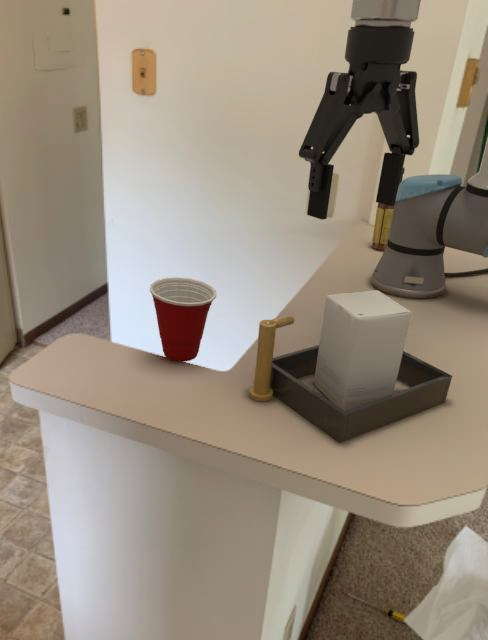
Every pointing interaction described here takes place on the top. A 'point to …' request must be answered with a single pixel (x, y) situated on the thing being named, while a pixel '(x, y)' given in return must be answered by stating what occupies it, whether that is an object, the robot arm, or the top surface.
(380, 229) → the sauce bottle
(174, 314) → the plastic cup
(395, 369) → the rectangular carton
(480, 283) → the top surface
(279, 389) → the sink
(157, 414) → the top surface
